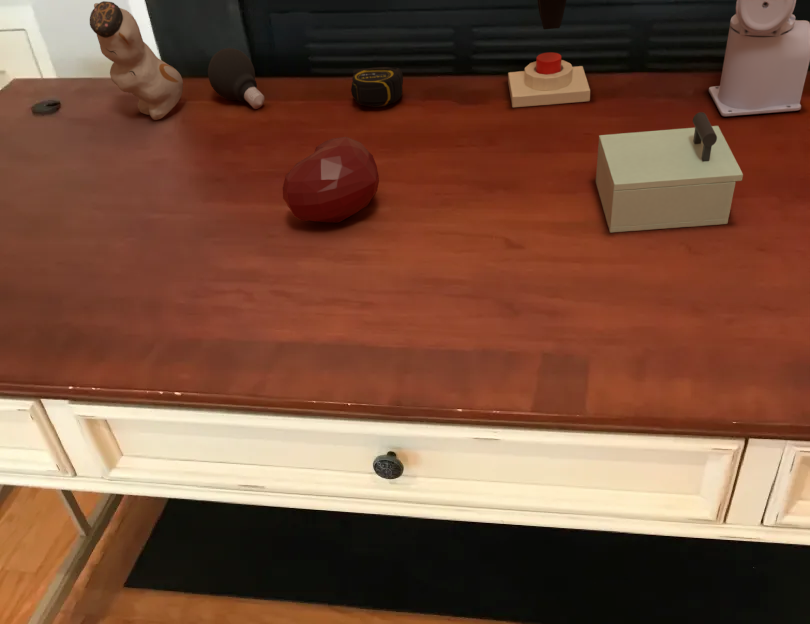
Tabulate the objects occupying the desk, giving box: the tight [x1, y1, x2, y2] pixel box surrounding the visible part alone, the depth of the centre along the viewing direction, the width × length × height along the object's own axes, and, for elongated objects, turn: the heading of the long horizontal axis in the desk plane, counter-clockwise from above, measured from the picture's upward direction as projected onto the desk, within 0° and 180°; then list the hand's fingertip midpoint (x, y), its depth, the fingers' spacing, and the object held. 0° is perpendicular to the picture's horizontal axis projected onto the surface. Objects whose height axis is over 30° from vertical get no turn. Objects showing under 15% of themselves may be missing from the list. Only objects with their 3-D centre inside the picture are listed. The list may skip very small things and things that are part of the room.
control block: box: [507, 59, 591, 109], centre depth 118 cm, size 10×8×3 cm
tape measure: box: [350, 66, 404, 108], centre depth 120 cm, size 7×7×4 cm
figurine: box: [89, 0, 184, 121], centre depth 120 cm, size 9×10×15 cm
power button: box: [535, 51, 562, 75], centre depth 117 cm, size 3×3×2 cm
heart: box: [282, 136, 380, 224], centre depth 100 cm, size 12×8×10 cm
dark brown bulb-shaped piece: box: [207, 47, 265, 110], centre depth 124 cm, size 6×6×10 cm
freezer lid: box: [598, 111, 744, 191], centre depth 93 cm, size 13×11×4 cm
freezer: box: [595, 143, 737, 233], centre depth 96 cm, size 12×11×5 cm
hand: (550, 23), depth 113 cm, fingers open, 3 cm apart
